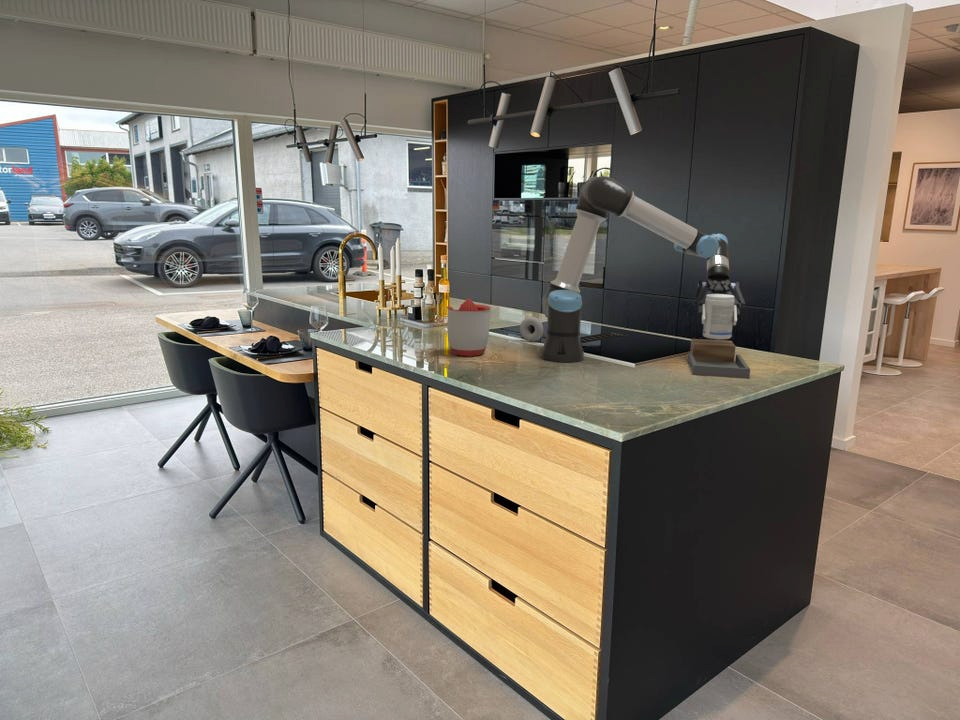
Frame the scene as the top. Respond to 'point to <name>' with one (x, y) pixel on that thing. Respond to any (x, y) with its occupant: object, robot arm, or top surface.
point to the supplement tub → (718, 316)
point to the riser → (713, 350)
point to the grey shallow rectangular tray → (719, 367)
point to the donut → (537, 326)
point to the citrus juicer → (468, 328)
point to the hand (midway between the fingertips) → (719, 322)
